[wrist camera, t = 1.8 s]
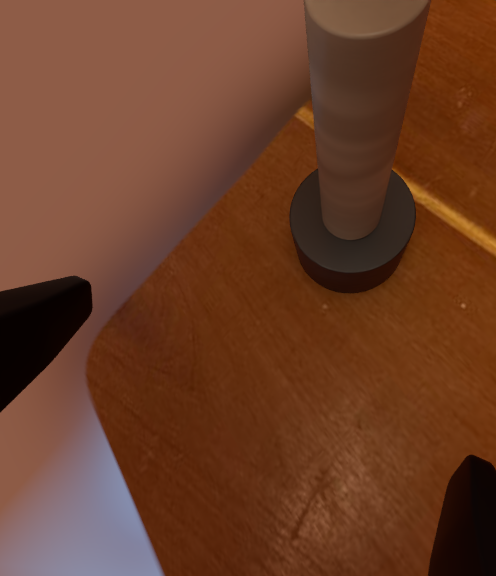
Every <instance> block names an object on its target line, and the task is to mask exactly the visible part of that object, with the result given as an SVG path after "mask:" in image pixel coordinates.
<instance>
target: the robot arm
mask: <svg viewBox="0 0 496 576" xmlns="http://www.w3.org/2000/svg"><path fill="white" fill-rule="evenodd" d="M91 312H92V292H91V285H90V283H89V282H88V281H87V280H85V279H82V278H80V277H78V276H69V277H65V278H61V279H56V280H51V281H46V282H42V283H37V284H33V285H28V286H24V287H19V288H15V289H10V290H5V291H1V292H0V412H1V411H2V410H3V409H4V408H5V407H6V406H7V405H8V404H9V403H10V402H11V401H12V400H14V399H15V398H16V397H17V395H18V394H20V393H21V392H22V390H24V389H25V388H26V387H27V386H28V385H29V384H30V383H31V382H32V381H33V380H34V379H35V378H36V377H37V376H38V375H39V374H40V373H41V372H42V371H43V370H44V369H45V368H46V367H47V366H48V365H49V364H50V363H51V362H52V361H53V359H54V358H55V357H56V356H57V355H58V354H59V352H60V351H61V350H62V349H63V348H64V346H65V345H66V344H67V343H68V342H69V340H70V339H71V338H72V337H73V335H74V334H75V333H76V332H77V331H78V330H79V328H80V327H81V326H82V325H83V323H84V322H85V321H86V320H87V319H88V317H89V316H90V314H91ZM428 576H496V470H495V468H494V466H493V465H492V464H491V463H490V462H488V461H486V460H483V459H481V458H479V457H477V456H475V455H468V456H467V457H466V458H465V459H464V461H463V462H462V463H461V465H460V466H459V467H458V469H457V470H456V471H455V473H454V474H453V475H452V477H451V479H450V481H449V483H448V486H447V490H446V494H445V498H444V502H443V507H442V511H441V515H440V519H439V524H438V528H437V532H436V536H435V541H434V545H433V549H432V554H431V558H430V565H429V572H428Z"/></svg>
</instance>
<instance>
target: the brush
mask: <svg viewBox="0 0 496 576" xmlns="http://www.w3.org/2000/svg"><path fill="white" fill-rule="evenodd" d="M430 3H431V0H304V9H305V21H306V33H307V43H308V57H309V68H310V80H311V92H312V104H313V115H314V127H315V139H316V151H317V162H318V169H317V170H315V171H314V172H312V173H311V174H310V175H309V176H308V177H307V178H306V179H305V180H304V181H303V182H302V183H301V185H300V186H299V188H298V189H297V191H296V193H295V195H294V197H293V200H292V203H291V208H290V227H291V232H292V235H293V239H294V243H295V246H296V250H297V254H298V257H299V260H300V263H301V265H302V267H303V268H304V270H305V271H306V273H307V274H308V275H309V276H310V277H311V278H312V279H313V280H314V281H315V282H317V283H318V284H319V285H321V286H323V287H325V288H327V289H329V290H332V291H336V292H341V293H358V292H363V291H367V290H369V289H372V288H374V287H376V286H378V285H380V284H381V283H383V282H384V281H385V280H386V279H388V278H389V277H390V276H391V274H392V273H393V272H394V271H395V269H396V268H397V266H398V264H399V262H400V260H401V258H402V255H403V253H404V251H405V249H406V246H407V244H408V242H409V240H410V238H411V235H412V233H413V230H414V226H415V220H416V209H415V202H414V199H413V196H412V194H411V192H410V189H409V188H408V186H407V185H406V183H405V182H404V181H403V179H402V178H401V177H400V176H399V175H398V174H397V173H395V172H394V171H393V170H392V166H393V162H394V157H395V153H396V149H397V145H398V140H399V136H400V132H401V128H402V123H403V119H404V115H405V110H406V106H407V102H408V98H409V93H410V89H411V85H412V80H413V76H414V72H415V68H416V63H417V59H418V55H419V50H420V46H421V42H422V38H423V33H424V29H425V25H426V21H427V16H428V12H429V8H430Z"/></svg>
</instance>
